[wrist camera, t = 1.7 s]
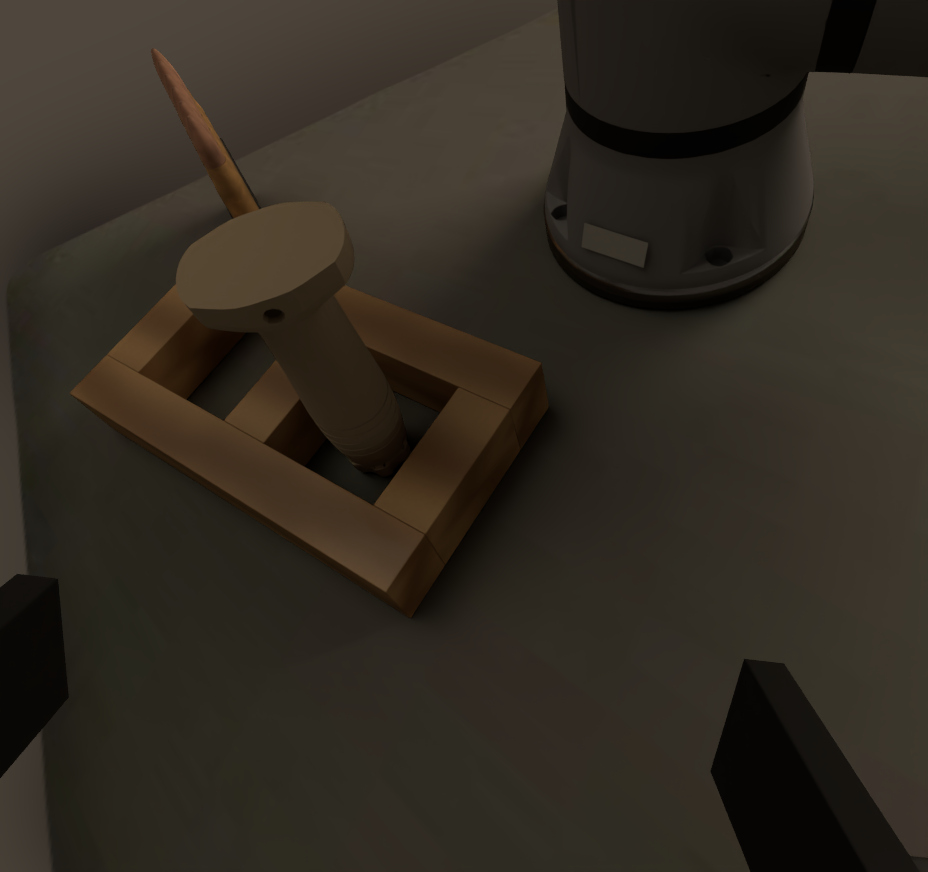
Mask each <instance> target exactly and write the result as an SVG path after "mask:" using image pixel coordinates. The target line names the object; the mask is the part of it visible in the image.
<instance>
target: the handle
mask: <svg viewBox="0 0 928 872" xmlns="http://www.w3.org/2000/svg"><path fill="white" fill-rule="evenodd" d="M353 266H354V250H353V246H352V242H351V239H350V236H349V234H348V231H347V229H346V227H345V224H344V222H343V220H342V218H341V216H340V214H339V213H338V211H337V210H336V209H335V208H334V207H332V206H331V205H330V204H328V203H326V202H288V203H280V204H276V205H272V206H268V207H265V208H262V209H259V210H256V211H253V212H250V213H247V214H244V215H241V216H239V217H236V218H234V219H231V220H229V221H228V222H226V223H224V224H222V225H220V226H219V227H217V228H216V229H214V230H213V231H211V232H210V233H208V234H207V235H205V236H204V237H202V238H201V239H199V240H198V241H196V242H195V243H193V244H192V245H190V246H189V248H188V249H187V250H186V252H185V253H184V255H183V257H182V258H181V260H180V263H179V266H178V269H177V275H176V287H177V292H178V295H179V298H180V299H181V300H182V301H183V303H184V304H185V305H186V306H187V307H188V309H189V310H190V311H191V312H192V314H193V315H194V316H195V317H196V318H197V319H198V320H199V321H200V322H201V323H202V324H203V325H204V326H206V327H207V328H209V329H216V330H223V331H232V332H258V333H259V334H260V335H261V337H262V338H263V340H264V341H265V343H266V344H267V346H268V348H269V349H270V351H271V352H272V354H273V355H274V357H275V359H276V360H277V362H278V363H279V365H280V366H281V368H282V370H283V371H284V373H285V374H286V376H287V378H288V379H289V381H290V383H291V384H292V386H293V388H294V390H295V391H296V393H297V395H298V396H299V398H300V400H301V401H302V403H303V405H304V406H305V408H306V410H307V411H308V413H309V415H310V416H311V417H312V419H313V420H314V422H315V423H316V424H317V426H318V427H319V429H320V430H321V431H322V433H323V434H324V435H325V436H326V437H327V438H328V440H330V442H331V443H332V444H333V445H334V446H335V447H336V448H337V449H338V450H339V451H340V452H341V453H343V454H344V455H345V456H346V457H347V458H349V461H350V462H351V463H352V464H353V465H354V466H355V467H356V468H357V469H358V470H359V471H361V472H374V473H377V474H379V475H380V476H381V477H385V476H389V475H391V474H392V473H393V471H394V469H395V468H396V467H397V466H398V465H399V464H400V463H401V462H403V461H404V460H407V458H408V457H409V455H410V447H409V444H408V442H407V441H406V439H407V433H406V429H405V426H404V423H403V418H402V415H401V411H400V408H399V406H398V403H397V400H396V398H395V395H394V393H393V391H392V389H391V387H390V385H389V383H388V381H387V379H386V377H385V376H384V374H383V372H382V370H381V369H380V367H379V366H378V364H377V363H376V361H375V359H374V358H373V356H372V355H371V353H370V352H369V350H368V349H367V347H366V346H365V344H364V343H363V341H362V339H361V338H360V336H359V335H358V333H357V332H356V330H355V329H354V327H353V325H352V324H351V322H350V320H349V319H348V317H347V315H346V314H345V312H344V310H343V309H342V307H341V306H340V304H339V302H338V301H337V299H336V297H335V296H334V294H336V293H337V292H338V291H339V290H340V289H341V288H342V287H343V286H344V285H346V283H347V281H348V279H349V278H350V275H351V273H352V270H353Z"/></svg>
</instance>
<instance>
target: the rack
mask: <svg viewBox="0 0 928 872" xmlns="http://www.w3.org/2000/svg"><path fill="white" fill-rule="evenodd" d="M334 296H335V297H336V299H337V301H338V302H339V304H340V306H341V307H342V309H343V310H344V312H345V314H346V315H347V317H348V319H349V320H350V322H351V324H352V325H353V327H354V329H355V330H356V332H357V333H358V335H359V336H360V338H361V339H362V341H363V343H364V344H365V346H366V347H367V349H368V350H369V352H370V353H371V355H372V356H373V358H374V359H375V361H376V363H377V364H378V366H379V367H380V369H381V370H382V372H383V374H384V376H385V377H386V379H387V381H388V383H389V385H390V387H391V389H392V390H393V391H395V392H397V393H399V394H401V395H404V396H406V397H408V398H410V399H412V400H414V401H417V402H419V403H421V404H423V405H425V406H427V407H430V408H432V409H434V410H436V411H438V412H440V414H439V415H438V417H437V418H436V419H435V421H434V422H433V424H432V425H431V426H430V428H429V429H428V430H427V432H426V433H425V435H424V436H423V437H422V439H421V440H420V442H419V443H418V444H417V446H416V447H415V448H414V450H413V451H412V453H411V454H410V455H409V457H408V458H407V460H406V461H405V462H404V464H403V465H402V466H401V468H400V469H399V471H398V472H397V473H396V475H395V476H394V478H393V479H392V480H391V482H390V483H389V484H388V486H387V487H386V489H385V490H384V491H383V493H382V494H381V496H380V497H379V498H378V500H377V501H376V502H375V504H374V505H372V504H370V503H368V502H366V501H365V500H363V499H361V498H359V497H358V496H356V495H354V494H352V493H351V492H349V491H347V490H345V489H343V488H342V487H340V486H338V485H336V484H335V483H333V482H331V481H329V480H327V479H326V478H324V477H322V476H320V475H319V474H317V473H315V472H313V471H312V470H310V469H308V468H306V467H305V466H306V464H307V463H308V462H309V461H310V459H311V458H312V457H313V456H314V454H315V453H316V452H317V450H318V449H319V448H320V447H321V445H322V444H323V443H324V441H325V440H326V439H327V437H326V436H325V435H324V434H323V433H322V431H321V430H320V429H319V427H318V426H317V424H316V423H315V422H314V420H313V419H312V417H311V416H310V415H309V413H308V411H307V410H306V408H305V406H304V405H303V403H302V401H301V400H300V398H299V396H298V395H297V393H296V391H295V390H294V388H293V386H292V384H291V383H290V381H289V379H288V378H287V376H286V374H285V373H284V371H283V370H282V368H281V366H280V365H279V363H278V362H277V360H276V361H275V362H274V363H273V364H272V365H271V366H270V368H269V369H268V370H267V371H266V372H265V373H264V375H263V376H262V377H261V378H260V379H259V380H258V382H257V383H256V384H255V385H254V386H253V387H252V389H251V390H250V391H249V392H248V393H247V394H246V395H245V397H244V398H243V399H242V400H241V401H240V402H239V404H238V405H237V406H236V407H235V408H234V409H233V411H232V412H231V413H230V414H229V415H228V416H227V418H226V419H225V420H224V421H223V420H221V419H219V418H218V417H216V416H214V415H212V414H211V413H209V412H207V411H205V410H204V409H202V408H200V407H198V406H196V405H195V404H193V403H191V402H189V401H188V400H186V399H187V398H188V397H189V396H190V395H191V394H192V393H193V392H194V390H195V389H196V388H197V387H198V386H199V385H200V384H201V383H202V381H203V380H204V379H205V378H206V377H207V376H208V375H209V374H210V373H211V371H212V370H213V369H214V368H215V367H216V366H217V365H218V364H219V362H220V361H221V360H222V359H223V358H224V357H225V356H226V355H227V354H228V352H229V351H230V350H231V349H232V348H233V347H234V346H235V345H236V343H237V342H238V341H239V340H240V339H241V338H242V337H243V336H244V335H245V333H246V332H232V331H223V330H216V329H209V328H207V327H206V326H204V325H203V324H202V323H201V322H200V321H199V320H198V319H197V318H196V317H195V316H194V315H193V314H192V312H191V311H190V310H189V309H188V307H187V306H186V305H185V304H184V303H183V301H182V300H181V299H180V298H179V295H178V292H177V287H176V284H175V285H174V286H173V287H172V288H171V289H170V291H169V292H168V293H167V294H166V295H165V296H164V297H163V298H162V299H161V300H160V301H159V302H158V303H157V304H156V305H155V306H154V307H153V308H152V309H151V310H150V311H149V312H148V313H147V314H146V315H145V316H144V317H143V318H142V319H141V320H140V321H139V322H138V323H137V324H136V325H135V326H134V327H133V328H132V329H131V330H130V331H129V332H128V334H127V335H126V336H125V337H124V338H123V339H122V340H121V341H120V342H119V343H118V344H117V345H116V346H115V347H114V348H113V349H112V350H111V351H110V352H109V353H108V354H107V355H106V356H105V357H104V358H103V359H102V360H101V361H100V362H99V363H98V364H97V365H96V366H95V367H94V368H93V369H92V370H91V371H90V373H89V374H88V375H87V376H86V377H85V378H84V379H83V380H82V381H81V382H80V383H79V384H78V385H77V386H76V387H75V388H74V389H73V390H72V391H71V392H70V394H71V395H72V396H73V397H74V398H76V399H77V400H78V401H79V402H81V403H82V404H83V405H84V406H86V407H87V408H88V409H89V410H90V411H92V412H93V413H94V414H95V415H97V416H98V417H99V418H100V419H102V420H103V421H104V422H105V423H107V424H108V425H109V426H110V427H112V428H113V429H114V430H116V431H117V432H119V433H121V434H122V435H124V436H125V437H127V438H128V439H130V440H131V441H133V442H135V443H136V444H138V445H139V446H141V447H142V448H144V449H146V450H147V451H149V452H150V453H152V454H153V455H155V456H157V457H158V458H160V459H161V460H163V461H164V462H166V463H168V464H169V465H171V466H172V467H174V468H175V469H177V470H178V471H180V472H182V473H183V474H185V475H186V476H188V477H189V478H191V479H193V480H194V481H196V482H197V483H199V484H200V485H202V486H204V487H205V488H207V489H208V490H210V491H211V492H213V493H215V494H216V495H218V496H219V497H221V498H222V499H224V500H226V501H227V502H229V503H230V504H232V505H233V506H235V507H236V508H238V509H240V510H241V511H243V512H244V513H246V514H247V515H249V516H251V517H252V518H254V519H255V520H257V521H258V522H260V523H262V524H263V525H265V526H266V527H268V528H269V529H271V530H273V531H274V532H276V533H277V534H279V535H280V536H282V537H283V538H285V539H287V540H288V541H290V542H291V543H293V544H294V545H296V546H298V547H299V548H301V549H302V550H304V551H305V552H307V553H309V554H310V555H312V556H313V557H315V558H316V559H318V560H320V561H321V562H323V563H324V564H326V565H327V566H329V567H330V568H332V569H334V570H335V571H337V572H338V573H340V574H341V575H343V576H345V577H346V578H348V579H349V580H351V581H352V582H354V583H356V584H357V585H359V586H360V587H362V588H363V589H365V590H367V591H368V592H370V593H371V594H373V595H374V596H376V597H378V598H379V599H381V600H382V601H384V602H385V603H387V604H388V605H390V606H392V607H393V608H395V609H396V610H398V611H399V612H401V613H403V614H404V615H406V616H407V617H409V618H411V617H412V615H413V614H414V612H415V610H416V609H417V607H418V606H419V604H420V603H421V601H422V600H423V598H424V597H425V595H426V594H427V592H428V591H429V589H430V588H431V586H432V585H433V583H434V581H435V580H436V578H437V577H438V575H439V574H440V572H441V571H442V569H443V568H444V566H445V565H444V564H446V563H447V561H448V560H449V558H450V557H451V555H452V554H453V552H454V551H455V549H456V548H457V546H458V545H459V543H460V542H461V540H462V539H463V537H464V536H465V534H466V532H467V531H468V529H469V528H470V526H471V525H472V523H473V522H474V520H475V519H476V517H477V516H478V514H479V513H480V511H481V510H482V508H483V506H484V505H485V503H486V502H487V500H488V499H489V497H490V496H491V494H492V493H493V491H494V490H495V488H496V487H497V485H498V484H499V482H500V480H501V479H502V477H503V476H504V474H505V473H506V471H507V470H508V468H509V467H510V465H511V464H512V462H513V461H514V459H515V458H516V456H517V454H518V453H519V451H520V449H522V447H523V446H524V444H525V442H526V441H527V439H528V438H529V436H530V435H531V433H532V432H533V430H534V429H535V427H536V426H537V424H538V423H539V421H540V420H541V418H542V417H543V415H544V413H545V412H546V410H547V409H548V407H549V404H548V398H547V392H546V386H545V380H544V374H543V369H542V363H541V362H538V361H536V360H533V359H531V358H528V357H526V356H523V355H520V354H518V353H515V352H513V351H510V350H508V349H505V348H503V347H500V346H498V345H495V344H492V343H490V342H487V341H485V340H482V339H480V338H477V337H475V336H472V335H470V334H467V333H465V332H462V331H459V330H457V329H454V328H452V327H449V326H447V325H444V324H442V323H439V322H437V321H434V320H431V319H429V318H426V317H424V316H421V315H419V314H416V313H414V312H411V311H409V310H406V309H403V308H401V307H398V306H396V305H393V304H391V303H388V302H386V301H383V300H381V299H378V298H376V297H373V296H370V295H368V294H365V293H363V292H360V291H358V290H355V289H353V288H350V287H348V286H345V285H344V286H343V287H342V288H341V289H340V290H339V291H338V292H337V293H336V294H334Z"/></svg>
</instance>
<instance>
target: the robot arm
mask: <svg viewBox="0 0 928 872" xmlns="http://www.w3.org/2000/svg"><path fill="white" fill-rule="evenodd" d="M557 1H558V13H559V25H560V37H561V49H562V60H563V72H564V81H565V94H566V115H565V118H564V122H563V126H562V130H561V133H560V137H559V141H558V145H557V148H556V152H555V156H554V160H553V163H552V167H551V171H550V175H549V178H548V182H547V186H546V192H545V199H544V217H545V225H546V233H547V239H548V243H549V246H550V249H551V251H552V253H553V255H554V257H555V258H556V260H557V262H558V263H559V265H560V266H561V267H562V268H563V269H564V270H565V272H566V273H567V274H569V275H570V276H571V277H572V278H573V279H574V280H575V281H577V282H578V283H579V284H581V285H582V286H584V287H586V288H587V289H589V290H590V291H592V292H594V293H597V294H599V295H601V296H603V297H606V298H608V299H611V300H614V301H617V302H621V303H624V304H629V305H634V306H639V307H647V308H660V309H676V308H689V307H697V306H703V305H708V304H712V303H716V302H720V301H723V300H726V299H729V298H732V297H735V296H738V295H740V294H742V293H745V292H747V291H749V290H751V289H753V288H754V287H756V286H758V285H760V284H761V283H763V282H764V281H766V280H768V279H769V278H770V277H772V276H773V275H774V274H775V273H777V272H778V271H779V270H780V269H781V268H782V267H783V266H784V265H785V264H786V263H787V262H788V261H789V259H790V258H791V257H792V256H793V255H794V253H795V251H796V250H797V248H798V247H799V245H800V243H801V241H802V238H803V236H804V233H805V229H806V226H807V223H808V219H809V216H810V213H811V209H812V205H813V198H814V178H813V171H812V164H811V156H810V149H809V141H808V134H807V126H806V119H805V112H804V104H803V95H804V90H805V86H806V81H807V77H808V73H809V72H837V73H863V74H881V75H899V76H917V77H928V0H557ZM68 698H69V696H68V685H67V674H66V663H65V652H64V641H63V630H62V619H61V608H60V597H59V586H58V579H56V578H47V577H39V576H30V575H21V574H17V575H15V576H14V577H13V578H12V579H11V580H9V581H8V582H7V583H5V584H4V585H3V586H2V587H0V778H1V777H2V775H3V774H4V773H5V772H6V771H7V770H8V768H9V767H10V766H11V765H12V764H13V763H14V761H15V760H16V759H17V758H18V757H19V755H20V754H21V753H22V752H23V751H24V750H25V748H26V747H27V746H28V745H29V744H30V742H31V741H32V740H33V739H34V738H35V737H36V735H37V734H38V733H39V732H40V731H41V729H42V728H43V727H44V726H45V725H46V724H47V722H48V721H49V720H50V719H51V718H52V716H53V715H54V714H55V713H56V712H57V711H58V709H59V708H60V707H61V706H62V705H63V703H64V702H65V701H66V700H67V699H68ZM711 774H712V776H713V779H714V781H715V784H716V786H717V789H718V791H719V794H720V796H721V799H722V801H723V804H724V806H725V809H726V811H727V814H728V816H729V819H730V821H731V824H732V826H733V829H734V831H735V834H736V836H737V839H738V841H739V844H740V846H741V849H742V851H743V854H744V856H745V859H746V861H747V864H748V866H749V869H750V871H751V872H928V858H922V857H913V856H909V854H908V853H907V851H906V850H905V848H904V847H903V845H902V844H901V842H900V840H899V839H898V837H897V836H896V834H895V833H894V831H893V830H892V828H891V827H890V825H889V824H888V822H887V821H886V819H885V818H884V816H883V814H882V813H881V811H880V810H879V808H878V807H877V805H876V804H875V802H874V801H873V799H872V798H871V796H870V795H869V793H868V792H867V790H866V788H865V787H864V785H863V784H862V782H861V781H860V779H859V778H858V776H857V775H856V773H855V772H854V770H853V769H852V767H851V765H850V764H849V762H848V761H847V759H846V758H845V756H844V755H843V753H842V752H841V750H840V749H839V747H838V746H837V744H836V743H835V741H834V739H833V738H832V736H831V735H830V733H829V732H828V730H827V729H826V727H825V726H824V724H823V723H822V721H821V720H820V718H819V717H818V715H817V713H816V712H815V710H814V709H813V707H812V706H811V704H810V703H809V701H808V700H807V698H806V697H805V695H804V694H803V692H802V690H801V689H800V687H799V686H798V684H797V683H796V681H795V680H794V678H793V677H792V675H791V674H790V672H789V671H788V669H787V668H786V666H785V664H783V663H775V662H766V661H757V660H749V659H744V662H743V665H742V668H741V672H740V675H739V678H738V682H737V685H736V688H735V692H734V695H733V698H732V702H731V705H730V708H729V712H728V715H727V718H726V722H725V725H724V728H723V732H722V735H721V738H720V742H719V745H718V748H717V751H716V755H715V758H714V761H713V765H712V768H711Z"/></svg>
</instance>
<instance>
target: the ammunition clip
mask: <svg viewBox="0 0 928 872" xmlns="http://www.w3.org/2000/svg"><path fill="white" fill-rule="evenodd" d="M151 53H152V58H153V62H154V65H155V68H156V70H157V73H158V75H159V77H160V79H161V81H162V83H163V85H164V87H165V89H166V91H167V93H168V95H169V97H170V99H171V101H172V102H173V104H174V107H175V108H176V111H177V113H178V115H179V117H180V120H181V122H182V124H183V125H184V127H185V129H186V131H187V134H188V135H189V137H190V139H191V141H192V142H193V145H194V147H195V149H196V151H197V152H198V154H199V156H200V159H201V161H202V163H203V165H204V166H205V168H206V170H207V172H208V174H209V176H210V178H211V180H212V182H213V183H214V185H215V188H216V190H217V192H218V194H219V195H220V197H221V199H222V200H223V202H224V204H225V205H226V207H227V209H228V211H229V213H230V215H231V217H232V219H234V218H236V217H239V216H241V215H244V214H247V213H250V212H253V211H256V210H259V209H261V207H260V205H259V203H258V202H257V200H256V198H255V196H254V194H253V193H252V191H251V189H250V187H249V186H248V184H247V182H246V180H245V179H244V177H243V175H242V173H241V172H240V170H239V168H238V166H237V165H236V163H235V161H234V159H233V158H232V156H231V154H230V152H229V151H228V149H227V147H226V145H225V144H224V142H223V140H222V139H221V138H219V137H218V135H217V133H216V132H215V130H214V128H213V127H212V124H211V123H210V121H209V119H208V118H207V116H206V115H205V112H204V111H203V109H202V108H201V107H200V106H199V104H198V103H197V102H196V101H195V100H194V98H193V96H192V95H191V93H190V92H189V90H188V89H187V88H186V86H185V84H184V83H183V81H182V79H181V78H180V76H179V75H178V73H177V72H176V71H175V69H174V68H173V67H172V65H171V64H170V63H169V62H168V61H167V60H166V58H165V57H164V56H163V55H162V54H161V53H160V52H158V51H157V50H156V49H154V48H153V49H152V50H151Z"/></svg>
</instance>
